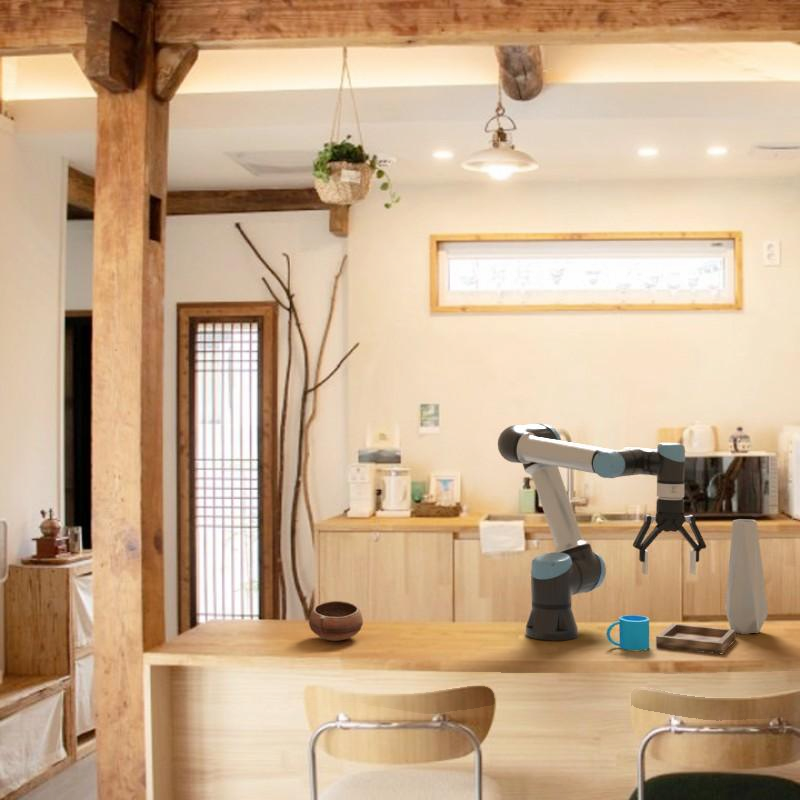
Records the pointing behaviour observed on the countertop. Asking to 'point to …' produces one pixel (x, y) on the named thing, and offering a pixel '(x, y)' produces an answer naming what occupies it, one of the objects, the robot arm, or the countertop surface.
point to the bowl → (335, 620)
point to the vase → (745, 580)
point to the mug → (631, 632)
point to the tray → (696, 638)
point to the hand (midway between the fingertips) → (668, 573)
